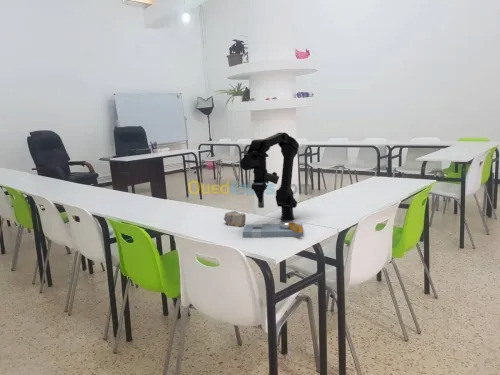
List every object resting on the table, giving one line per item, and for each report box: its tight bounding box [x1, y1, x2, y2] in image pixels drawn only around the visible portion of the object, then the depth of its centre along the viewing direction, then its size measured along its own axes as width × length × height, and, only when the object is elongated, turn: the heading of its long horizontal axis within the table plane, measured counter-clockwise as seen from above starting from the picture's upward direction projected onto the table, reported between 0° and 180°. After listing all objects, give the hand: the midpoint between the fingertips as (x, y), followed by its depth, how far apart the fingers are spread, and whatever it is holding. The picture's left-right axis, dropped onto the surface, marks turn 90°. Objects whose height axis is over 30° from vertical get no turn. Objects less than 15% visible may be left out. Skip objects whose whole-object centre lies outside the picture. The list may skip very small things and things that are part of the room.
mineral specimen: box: [223, 210, 247, 227], centre depth 190 cm, size 13×7×6 cm, turn 58°
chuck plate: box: [242, 222, 304, 239], centre depth 173 cm, size 12×26×2 cm, turn 84°
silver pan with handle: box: [278, 219, 304, 233], centre depth 168 cm, size 6×14×3 cm, turn 27°
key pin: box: [257, 191, 265, 209], centre depth 177 cm, size 3×3×8 cm
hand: (261, 201), depth 177 cm, fingers closed on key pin, 3 cm apart
